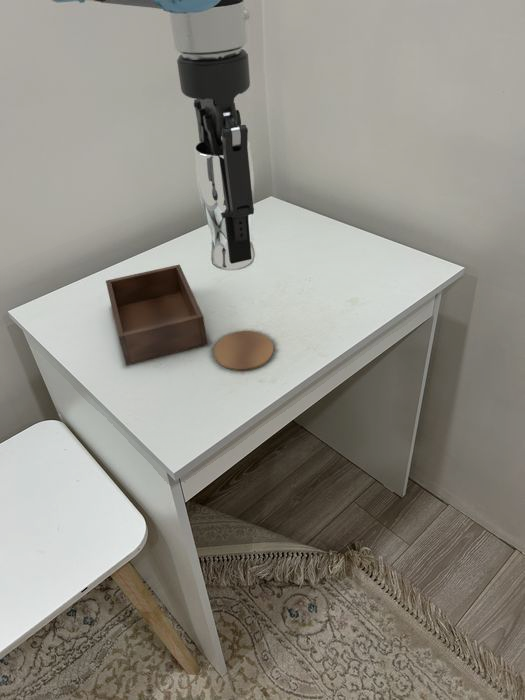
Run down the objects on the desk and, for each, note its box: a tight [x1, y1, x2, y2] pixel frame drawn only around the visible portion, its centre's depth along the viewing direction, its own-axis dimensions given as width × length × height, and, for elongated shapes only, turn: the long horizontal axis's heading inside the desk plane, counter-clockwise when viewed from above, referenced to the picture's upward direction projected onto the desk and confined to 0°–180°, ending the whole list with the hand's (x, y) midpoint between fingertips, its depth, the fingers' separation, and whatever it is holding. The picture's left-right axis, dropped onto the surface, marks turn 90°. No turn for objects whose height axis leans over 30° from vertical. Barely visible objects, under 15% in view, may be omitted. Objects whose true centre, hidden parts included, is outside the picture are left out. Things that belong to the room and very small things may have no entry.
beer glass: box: [193, 140, 258, 271], centre depth 68 cm, size 7×7×15 cm
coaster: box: [213, 330, 274, 372], centre depth 82 cm, size 9×9×1 cm
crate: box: [105, 264, 209, 366], centre depth 87 cm, size 13×17×5 cm
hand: (232, 247), depth 72 cm, fingers closed on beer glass, 6 cm apart
